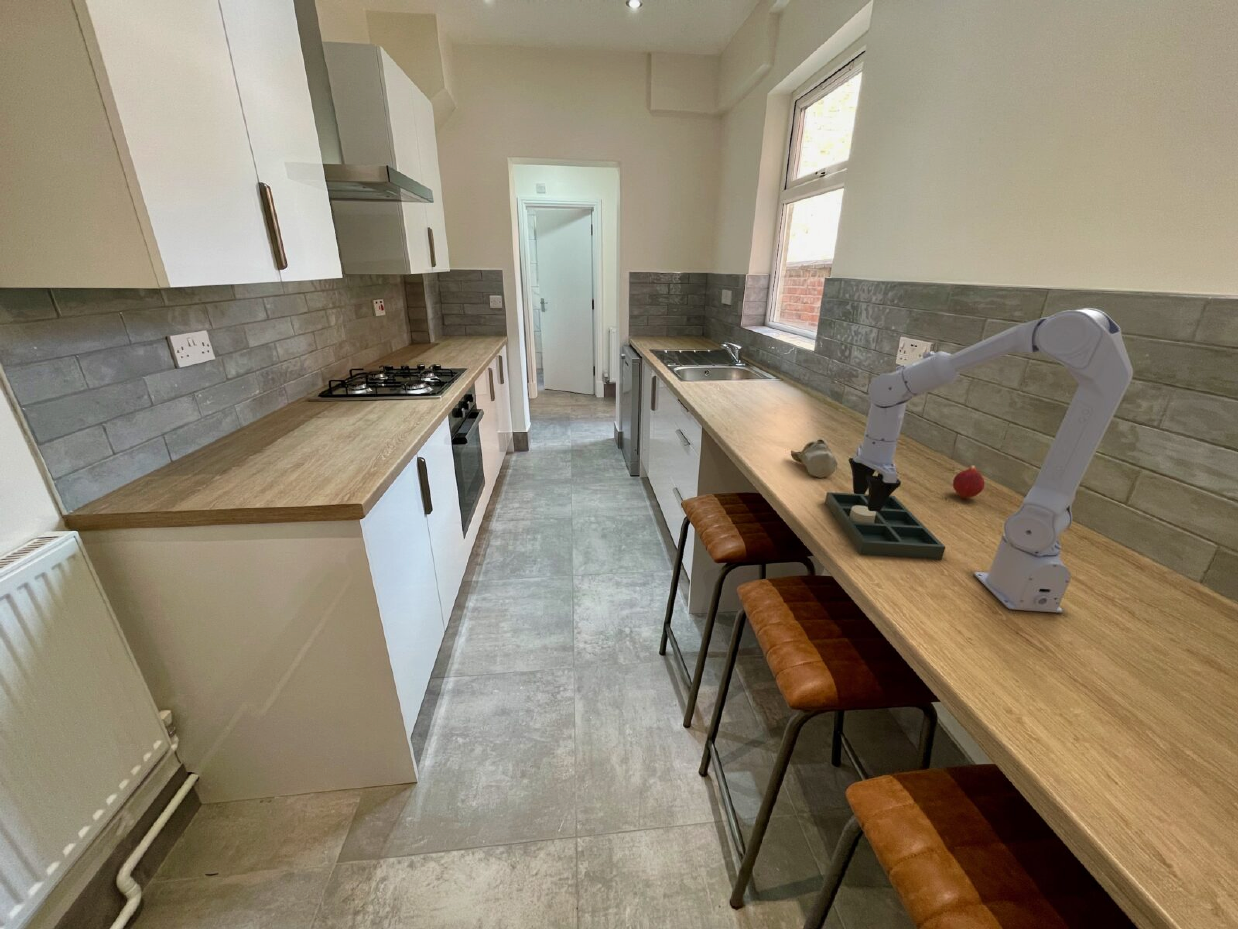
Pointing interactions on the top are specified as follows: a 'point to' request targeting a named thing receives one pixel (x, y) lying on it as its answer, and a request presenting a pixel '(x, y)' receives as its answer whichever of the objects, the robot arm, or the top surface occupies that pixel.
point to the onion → (968, 483)
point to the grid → (885, 528)
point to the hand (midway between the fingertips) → (866, 501)
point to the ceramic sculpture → (817, 459)
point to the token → (862, 514)
